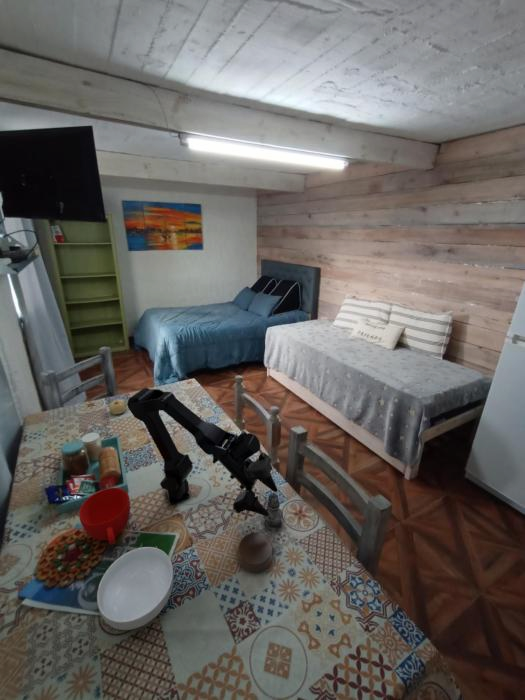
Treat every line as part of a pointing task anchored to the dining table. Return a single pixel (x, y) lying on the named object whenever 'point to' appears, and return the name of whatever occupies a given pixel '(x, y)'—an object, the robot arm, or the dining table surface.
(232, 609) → the dining table surface
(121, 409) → the onion
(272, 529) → the grey stone chess piece
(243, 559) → the walnut puck
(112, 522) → the ceramic cup
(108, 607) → the cereal bowl
